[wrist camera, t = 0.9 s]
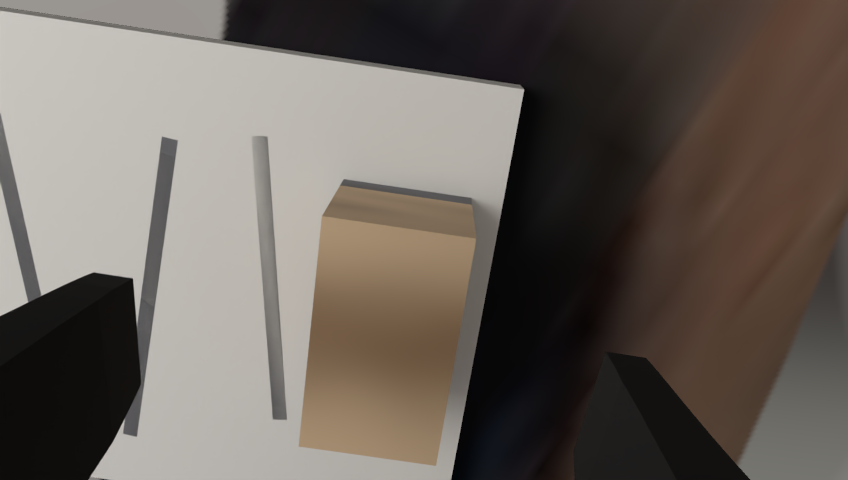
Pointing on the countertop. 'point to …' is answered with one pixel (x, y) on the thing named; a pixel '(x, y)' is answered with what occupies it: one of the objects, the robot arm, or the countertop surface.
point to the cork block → (386, 320)
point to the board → (226, 219)
